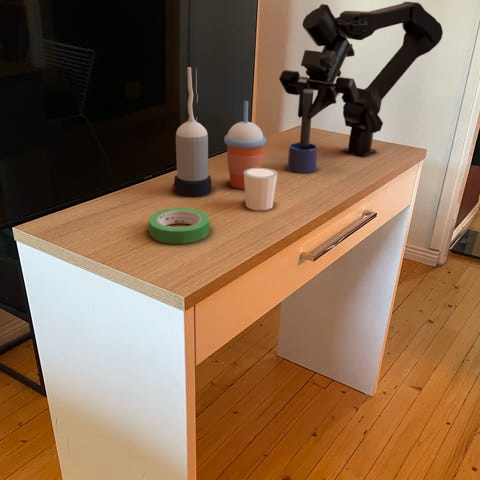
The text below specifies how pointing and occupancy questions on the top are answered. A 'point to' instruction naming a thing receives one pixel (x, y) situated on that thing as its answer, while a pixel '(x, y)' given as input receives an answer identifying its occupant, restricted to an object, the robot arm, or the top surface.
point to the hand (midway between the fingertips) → (303, 117)
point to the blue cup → (302, 158)
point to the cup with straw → (243, 149)
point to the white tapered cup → (259, 188)
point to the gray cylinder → (305, 121)
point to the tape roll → (179, 234)
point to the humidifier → (192, 154)
